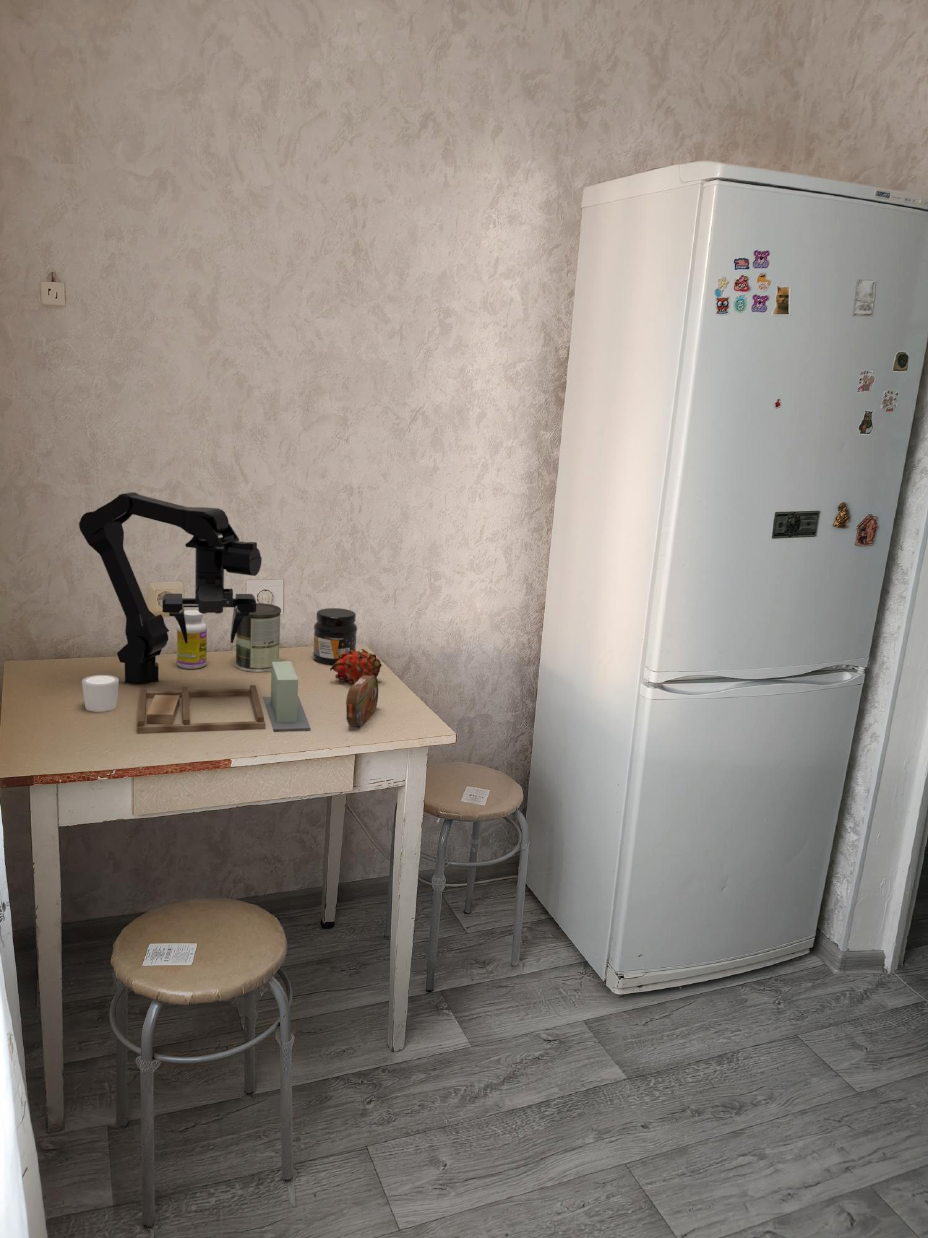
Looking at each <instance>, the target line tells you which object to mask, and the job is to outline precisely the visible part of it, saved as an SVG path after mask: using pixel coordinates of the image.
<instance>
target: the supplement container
mask: <svg viewBox="0 0 928 1238" xmlns="http://www.w3.org/2000/svg"><path fill="white" fill-rule="evenodd" d="M356 616H357V614H356V612H355V611H353V610H351V609H346V608H339V607H336V608H335V607H329V608H322V609H321V608H320V609H319V610H317V612H316V617H315V618H316V622H315V623H314V625H313V629H314V630H313V631H314V632H313V634H314V635H313V652H312V656H313V659H314V660H315V661H317V662H318V663H322V664H324V663H325V664H326V665H331V666H333V665H334V664H335V663H336V662H337V661H338V660H339V659H340V658H341V656H342V654H345V653H349V651H350V650H355V651H356V649H357V648H356V646H357V632H358V626H357V624H356V620H357V619H356Z"/></svg>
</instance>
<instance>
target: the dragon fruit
mask: <svg viewBox="0 0 928 1238" xmlns="http://www.w3.org/2000/svg"><path fill="white" fill-rule="evenodd" d="M360 650H361V651H360ZM360 650H357V651H355V650H350V651H349V653H345V654H342V656H341V658H340V659H339V660H338V661H337V662H336V663H335V664H334V665H331V667H330V669H329V671H330V672H331V671H332V670H333V671H334V672H336V674H335V679H337V680H339V681H341V682H346V683H352V682H353V684H354V683H355V682H356V681H357V680H358V679H359V678H360V677H361V676H364V675H367V676H373V675H374V676H376V678H378V676H379V674H380V671H381V667H382V666H383V664H382V662H381V660H380V659H379V657H377V655H376V654H375V653H371V652H368V651H367V650H365V649H364V648H361V649H360Z"/></svg>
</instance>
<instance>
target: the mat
mask: <svg viewBox="0 0 928 1238" xmlns="http://www.w3.org/2000/svg"><path fill="white" fill-rule="evenodd" d="M262 700H263V703H264V706H265V710H266V712H267V715H268V718H269V721H270V725H271V727H272V731H273V732H275V733H276V732H297V731H298V730H299V731H298V732H300V730H305V731H311V726H310V723H309V720H308V718H307V715H306V712H305V710H304V707H303V705H302V701H301V700H300V697H299V695H298V699H297V722H284V723H277V722H276V719H275V716H274V712H273V709H272V705H271V696H262Z"/></svg>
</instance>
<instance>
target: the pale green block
mask: <svg viewBox="0 0 928 1238" xmlns="http://www.w3.org/2000/svg"><path fill="white" fill-rule="evenodd" d="M270 672H271V675H270V677H271V679H270V680H271V681H270V697H271V705H272V709H273V712H274V716H275V719H276V722H277V723H284V722H297V699H298V696H299V695H298V691H299V679H298V676H297V673H296V670H295V668H294V666H293V662H292V661H287V660H286V661H279V662H272V669H271V671H270Z"/></svg>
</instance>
